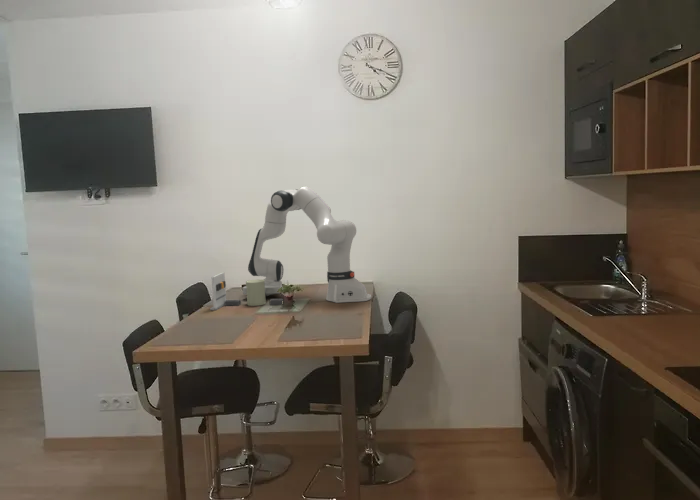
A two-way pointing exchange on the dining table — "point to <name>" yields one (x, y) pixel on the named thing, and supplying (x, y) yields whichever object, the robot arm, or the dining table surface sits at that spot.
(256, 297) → the can
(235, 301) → the cover
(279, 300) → the cover
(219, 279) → the panel
